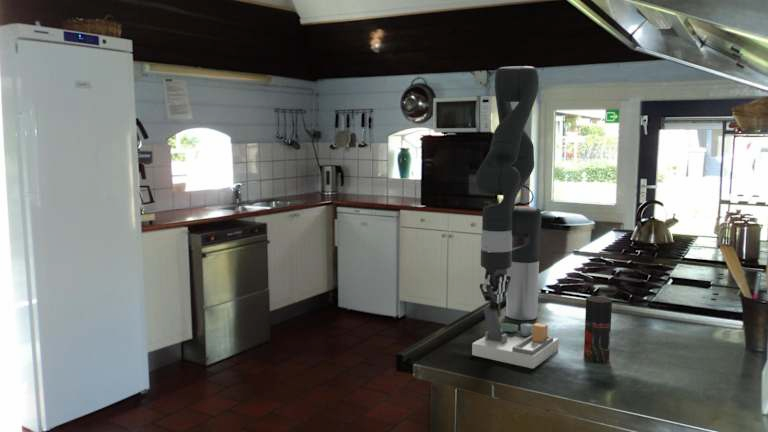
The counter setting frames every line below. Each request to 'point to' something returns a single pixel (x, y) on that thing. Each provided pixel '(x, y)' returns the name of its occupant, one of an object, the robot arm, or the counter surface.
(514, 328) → the block
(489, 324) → the paddle lever
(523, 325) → the push button
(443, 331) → the counter surface
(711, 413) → the counter surface
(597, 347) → the deodorant
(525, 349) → the panel
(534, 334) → the slider knob
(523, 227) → the robot arm
